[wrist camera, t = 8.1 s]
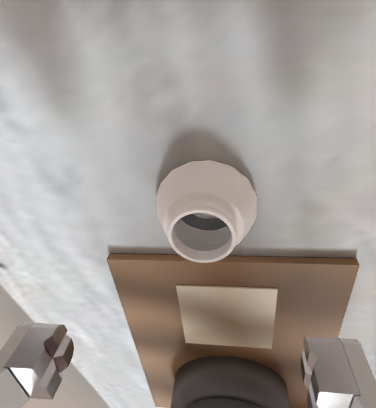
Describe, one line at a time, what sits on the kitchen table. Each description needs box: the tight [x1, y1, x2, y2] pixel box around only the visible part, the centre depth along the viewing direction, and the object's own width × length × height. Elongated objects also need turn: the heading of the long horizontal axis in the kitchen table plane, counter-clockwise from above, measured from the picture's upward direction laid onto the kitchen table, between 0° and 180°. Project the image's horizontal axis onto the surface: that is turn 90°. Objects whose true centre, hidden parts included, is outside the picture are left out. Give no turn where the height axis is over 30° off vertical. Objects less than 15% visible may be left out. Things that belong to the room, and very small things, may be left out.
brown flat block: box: [107, 254, 359, 408], centre depth 21 cm, size 19×14×3 cm
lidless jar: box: [155, 160, 257, 263], centre depth 14 cm, size 5×3×5 cm
